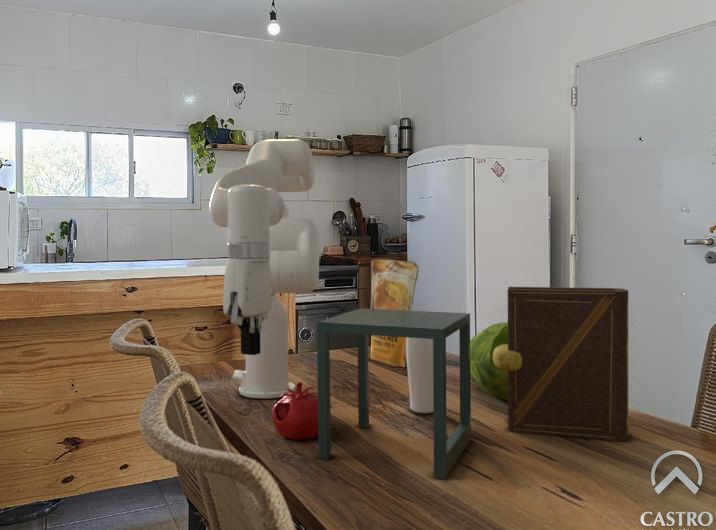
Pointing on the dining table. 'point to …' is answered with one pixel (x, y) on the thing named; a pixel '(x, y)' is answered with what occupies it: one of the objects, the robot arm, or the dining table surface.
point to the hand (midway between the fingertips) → (250, 353)
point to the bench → (438, 330)
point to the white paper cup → (420, 374)
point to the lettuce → (489, 360)
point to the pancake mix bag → (391, 304)
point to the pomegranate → (297, 414)
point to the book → (567, 361)
